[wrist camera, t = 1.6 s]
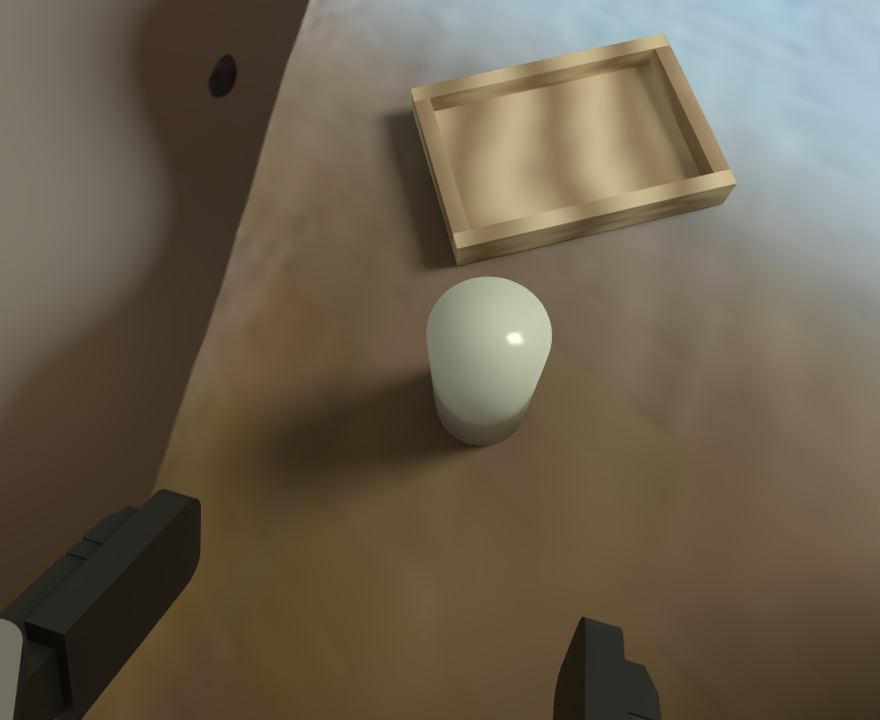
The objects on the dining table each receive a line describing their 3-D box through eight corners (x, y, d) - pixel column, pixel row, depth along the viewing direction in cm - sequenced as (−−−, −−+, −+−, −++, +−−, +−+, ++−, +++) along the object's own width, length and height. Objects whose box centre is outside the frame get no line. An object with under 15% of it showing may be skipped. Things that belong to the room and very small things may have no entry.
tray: (654, 59, 50) (664, 33, 48) (722, 203, 46) (737, 183, 43) (412, 112, 49) (410, 88, 47) (457, 266, 45) (457, 248, 42)
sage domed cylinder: (511, 348, 42) (531, 264, 31) (537, 433, 41) (568, 375, 29) (425, 369, 42) (413, 292, 31) (447, 455, 40) (443, 406, 29)
